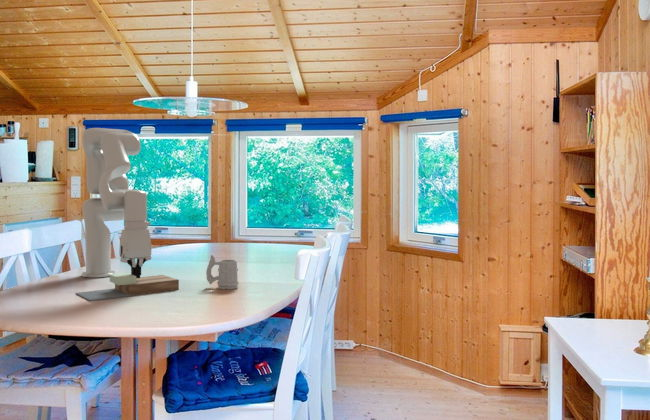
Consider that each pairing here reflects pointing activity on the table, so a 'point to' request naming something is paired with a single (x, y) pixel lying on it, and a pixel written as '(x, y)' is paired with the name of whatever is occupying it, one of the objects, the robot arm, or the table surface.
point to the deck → (150, 285)
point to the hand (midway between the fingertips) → (136, 277)
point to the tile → (123, 279)
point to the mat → (103, 294)
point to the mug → (223, 273)
